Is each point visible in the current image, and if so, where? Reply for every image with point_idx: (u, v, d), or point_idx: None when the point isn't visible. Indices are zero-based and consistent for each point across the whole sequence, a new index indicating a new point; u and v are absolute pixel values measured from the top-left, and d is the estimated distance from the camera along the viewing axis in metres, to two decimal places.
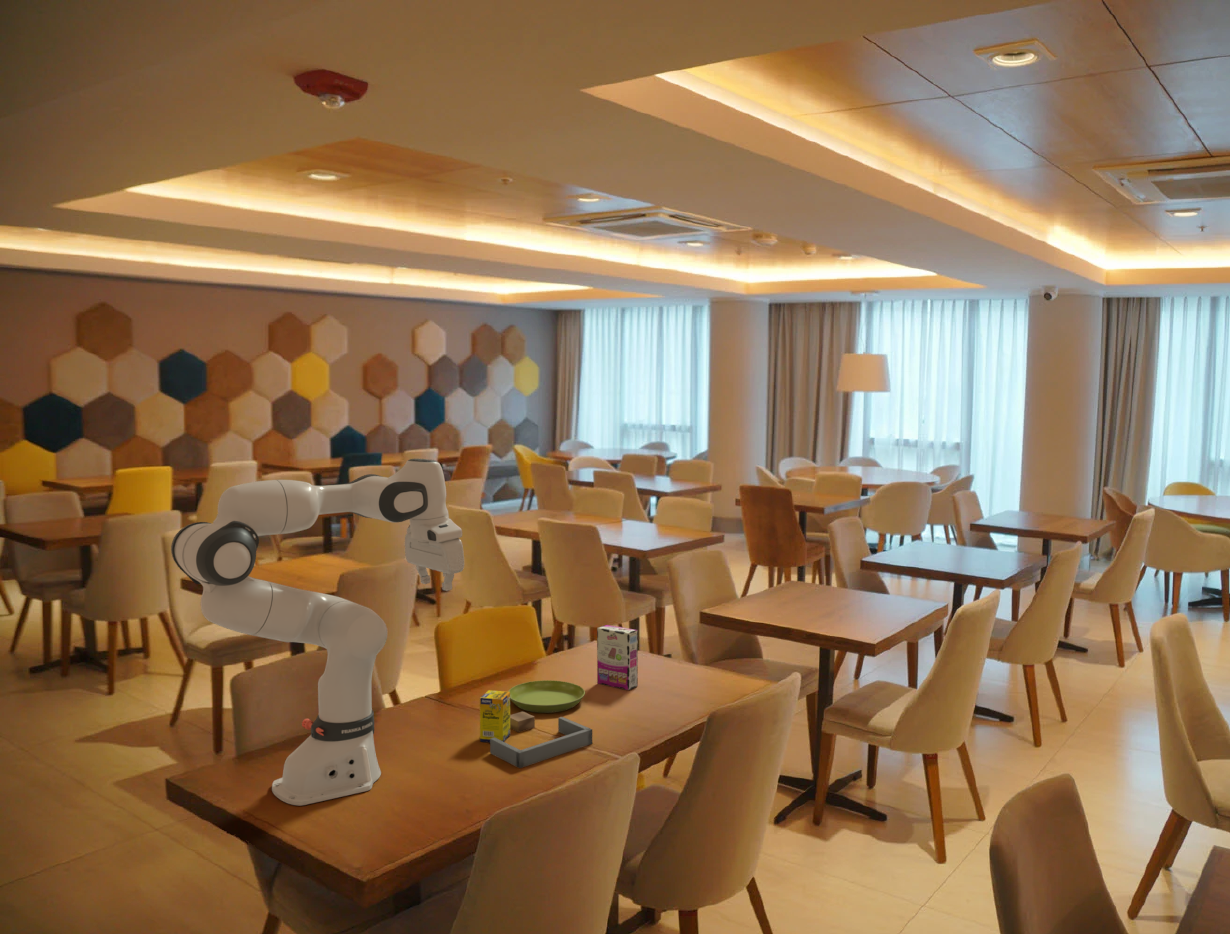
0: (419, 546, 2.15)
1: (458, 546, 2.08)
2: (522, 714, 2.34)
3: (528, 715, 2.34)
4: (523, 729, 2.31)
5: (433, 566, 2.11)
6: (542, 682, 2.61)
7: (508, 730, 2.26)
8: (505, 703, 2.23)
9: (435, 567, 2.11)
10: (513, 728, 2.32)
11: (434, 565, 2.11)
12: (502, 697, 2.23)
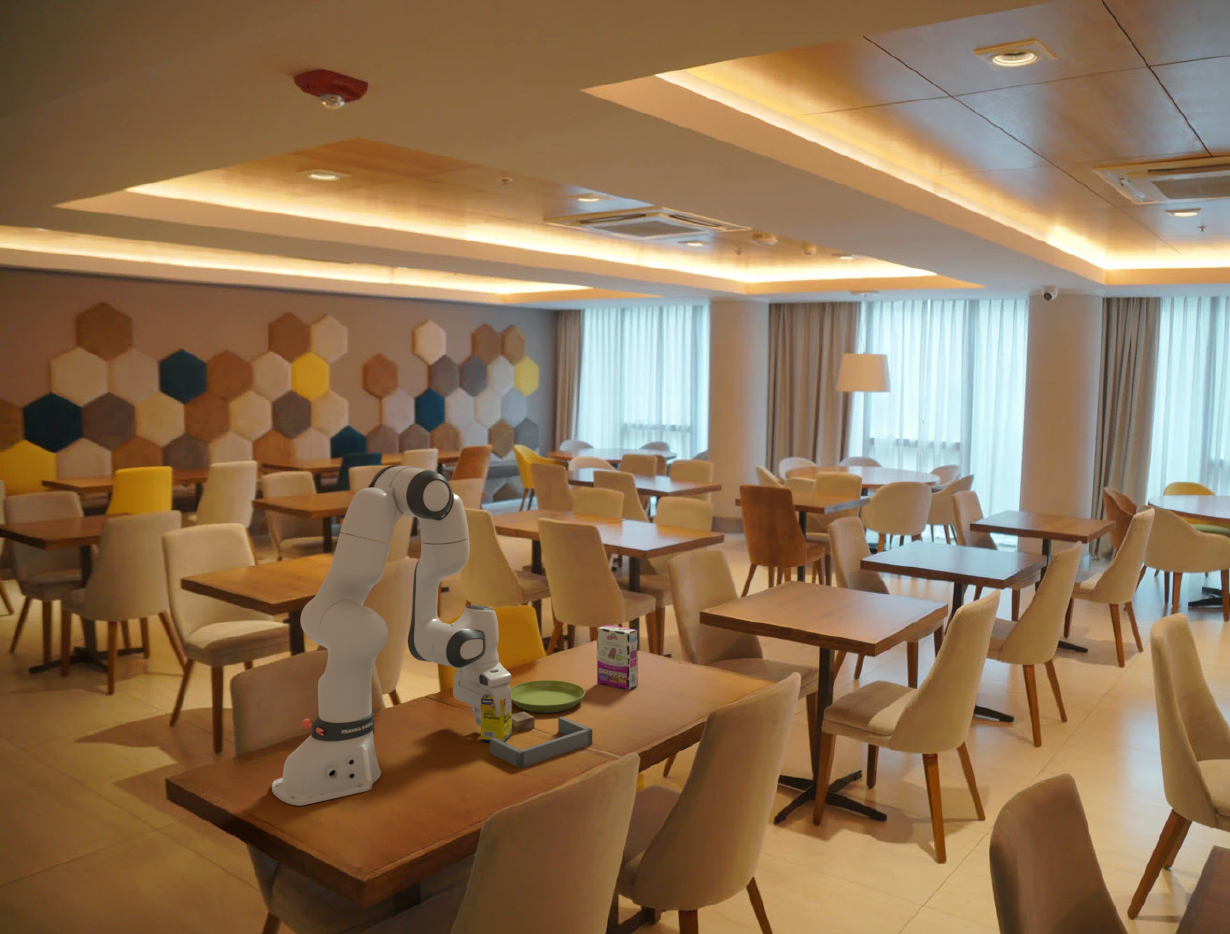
0: (468, 686, 2.31)
1: (507, 691, 2.23)
2: (523, 714, 2.34)
3: (528, 715, 2.34)
4: (522, 729, 2.31)
5: None
6: (542, 682, 2.61)
7: (509, 730, 2.26)
8: None
9: None
10: (512, 728, 2.32)
11: None
12: None
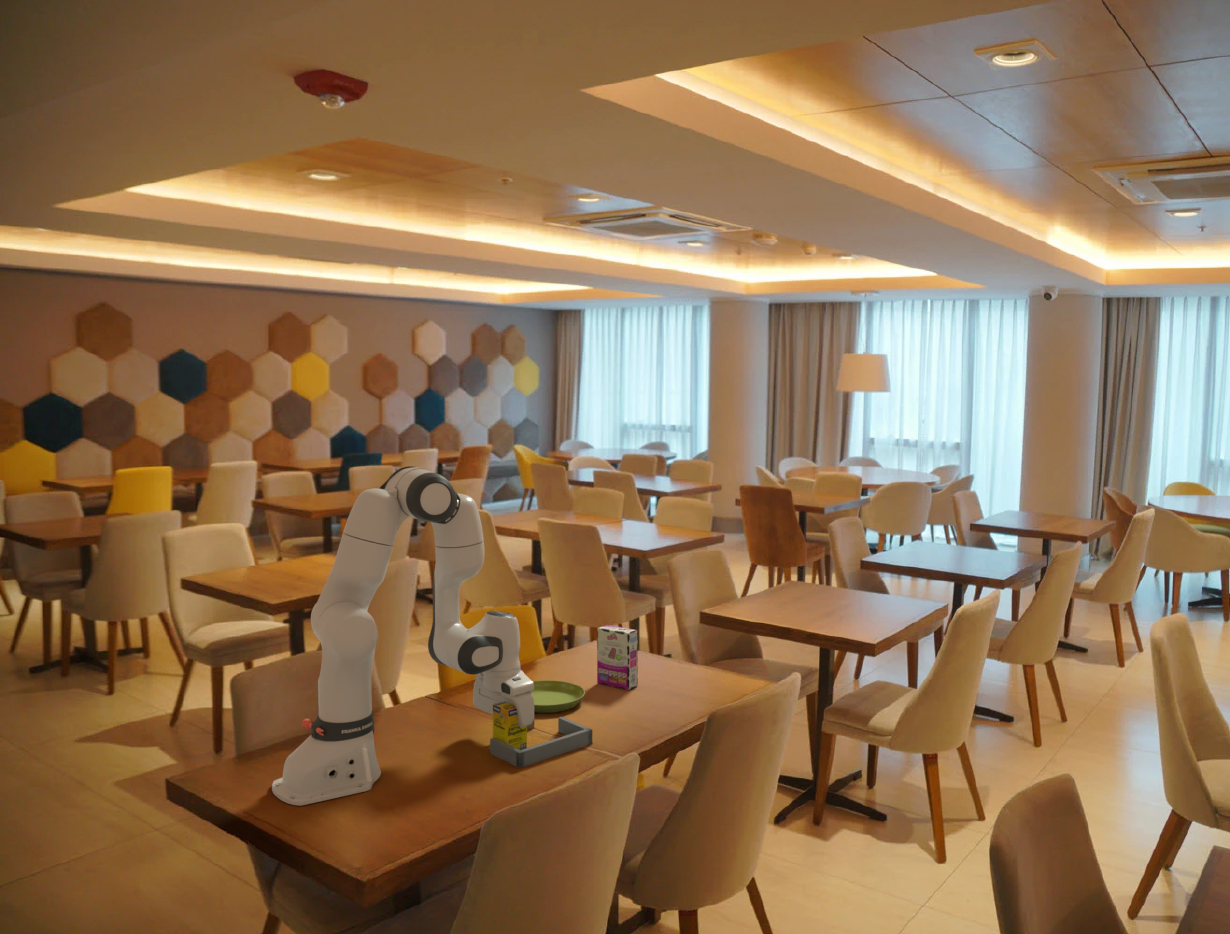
0: (489, 694, 2.24)
1: (530, 700, 2.17)
2: None
3: None
4: None
5: None
6: (542, 682, 2.61)
7: (520, 743, 2.17)
8: (513, 715, 2.15)
9: None
10: None
11: None
12: (511, 708, 2.15)
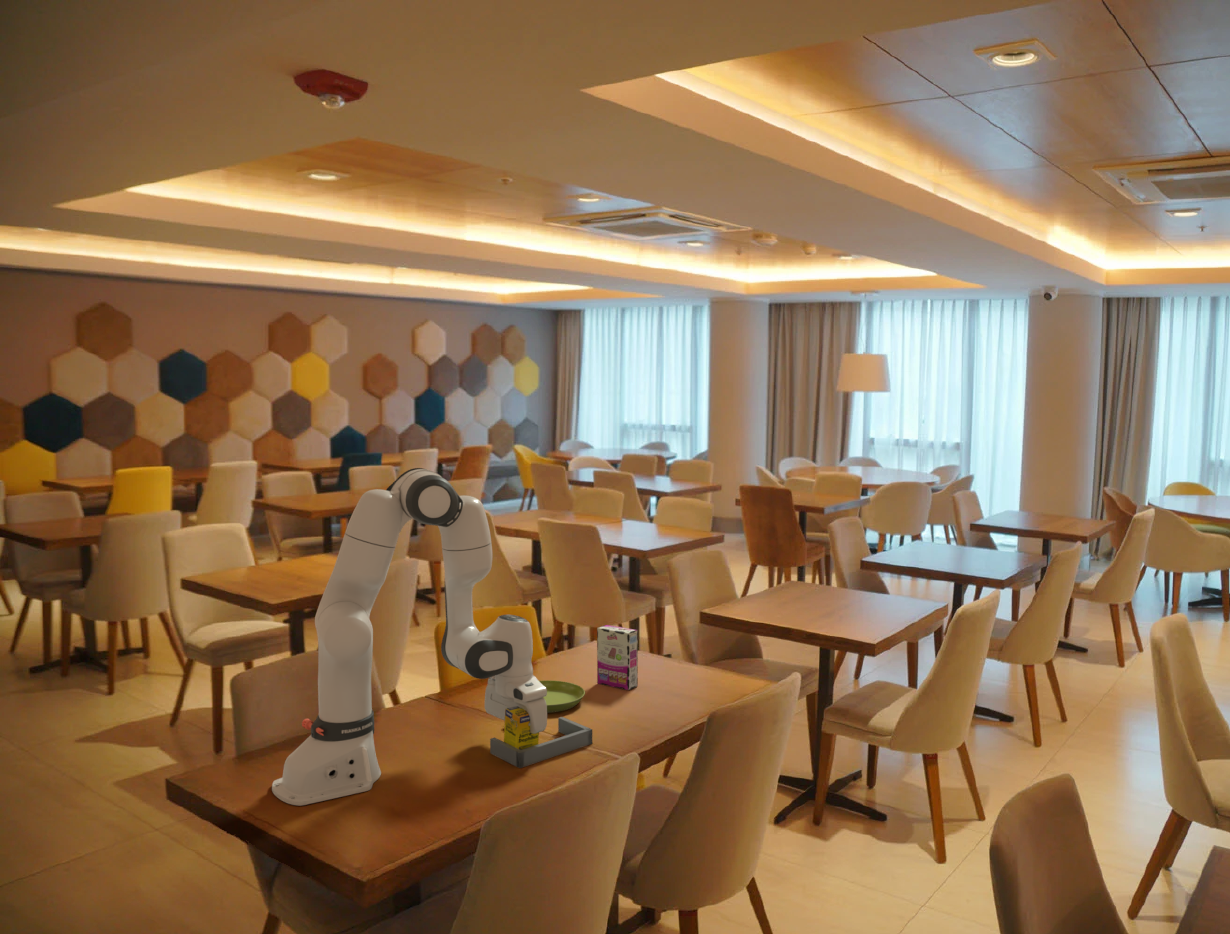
0: (501, 699, 2.21)
1: (543, 706, 2.13)
2: None
3: None
4: None
5: None
6: (542, 682, 2.61)
7: None
8: (524, 722, 2.11)
9: None
10: None
11: None
12: (523, 715, 2.11)
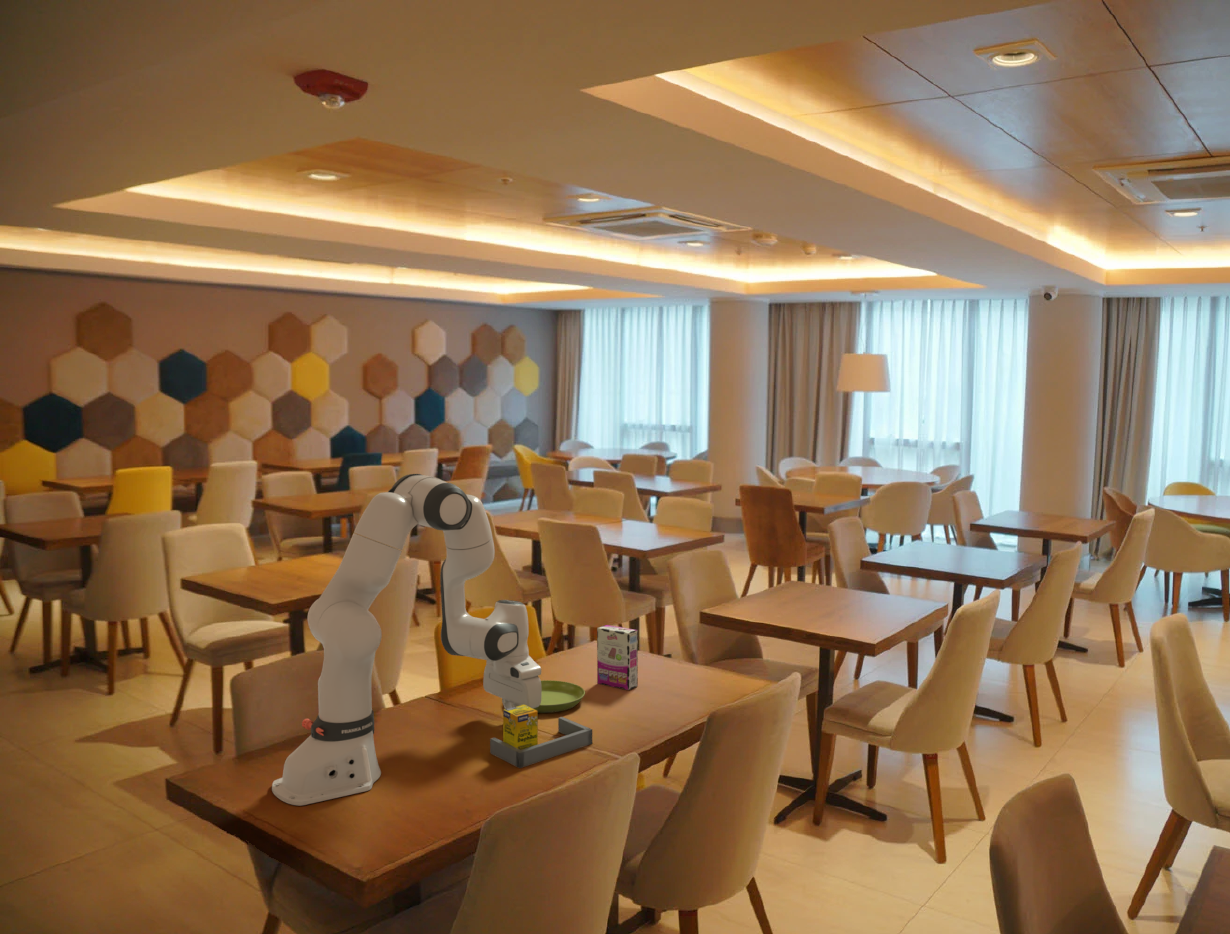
0: (499, 678, 2.37)
1: (538, 683, 2.29)
2: None
3: None
4: None
5: (511, 699, 2.33)
6: (542, 682, 2.61)
7: None
8: (522, 721, 2.12)
9: (513, 701, 2.32)
10: None
11: (513, 698, 2.32)
12: (520, 714, 2.12)
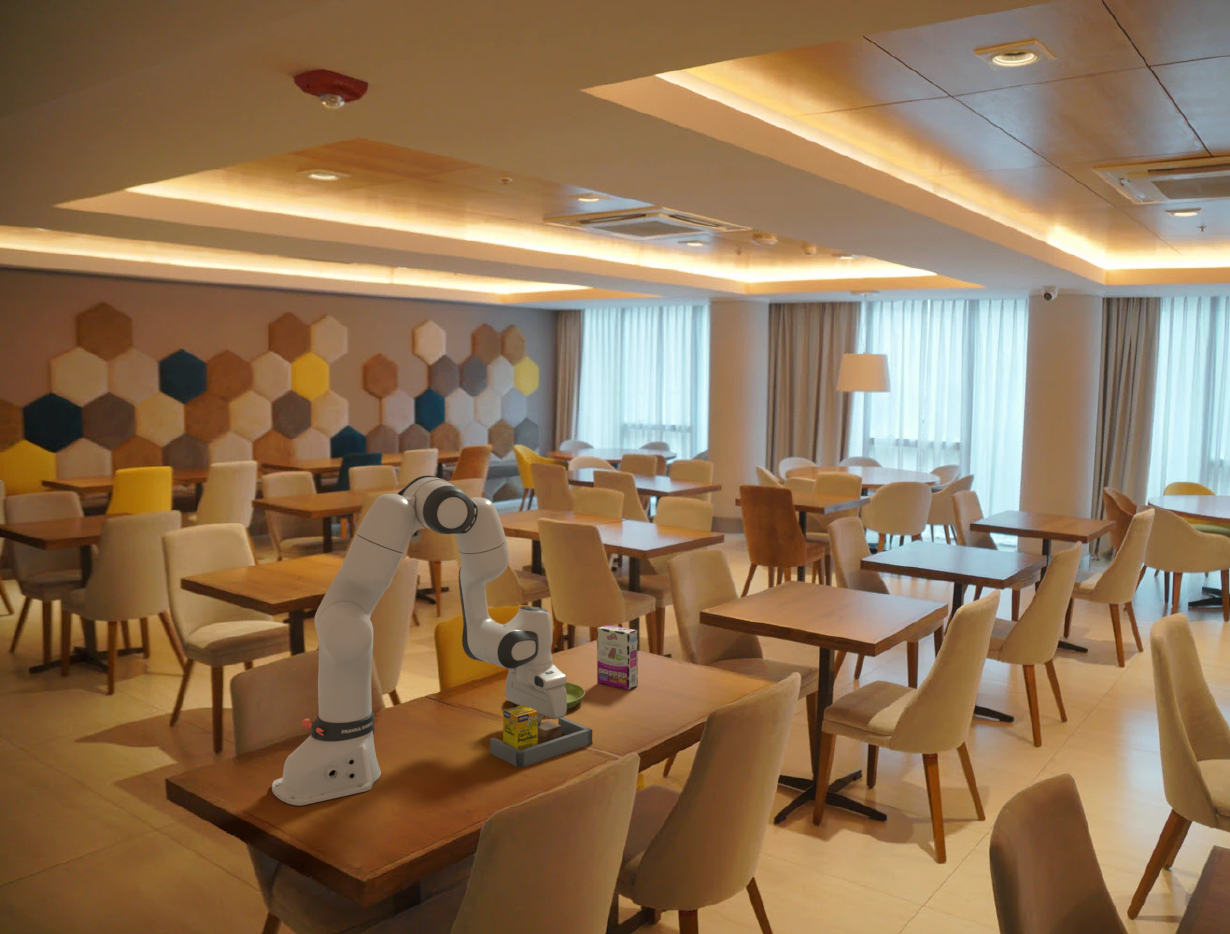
0: (522, 687, 2.30)
1: (563, 693, 2.22)
2: (548, 723, 2.28)
3: (554, 724, 2.27)
4: (550, 739, 2.24)
5: (535, 709, 2.25)
6: None
7: None
8: (522, 721, 2.11)
9: (537, 710, 2.25)
10: (539, 738, 2.25)
11: (537, 708, 2.25)
12: (520, 714, 2.12)
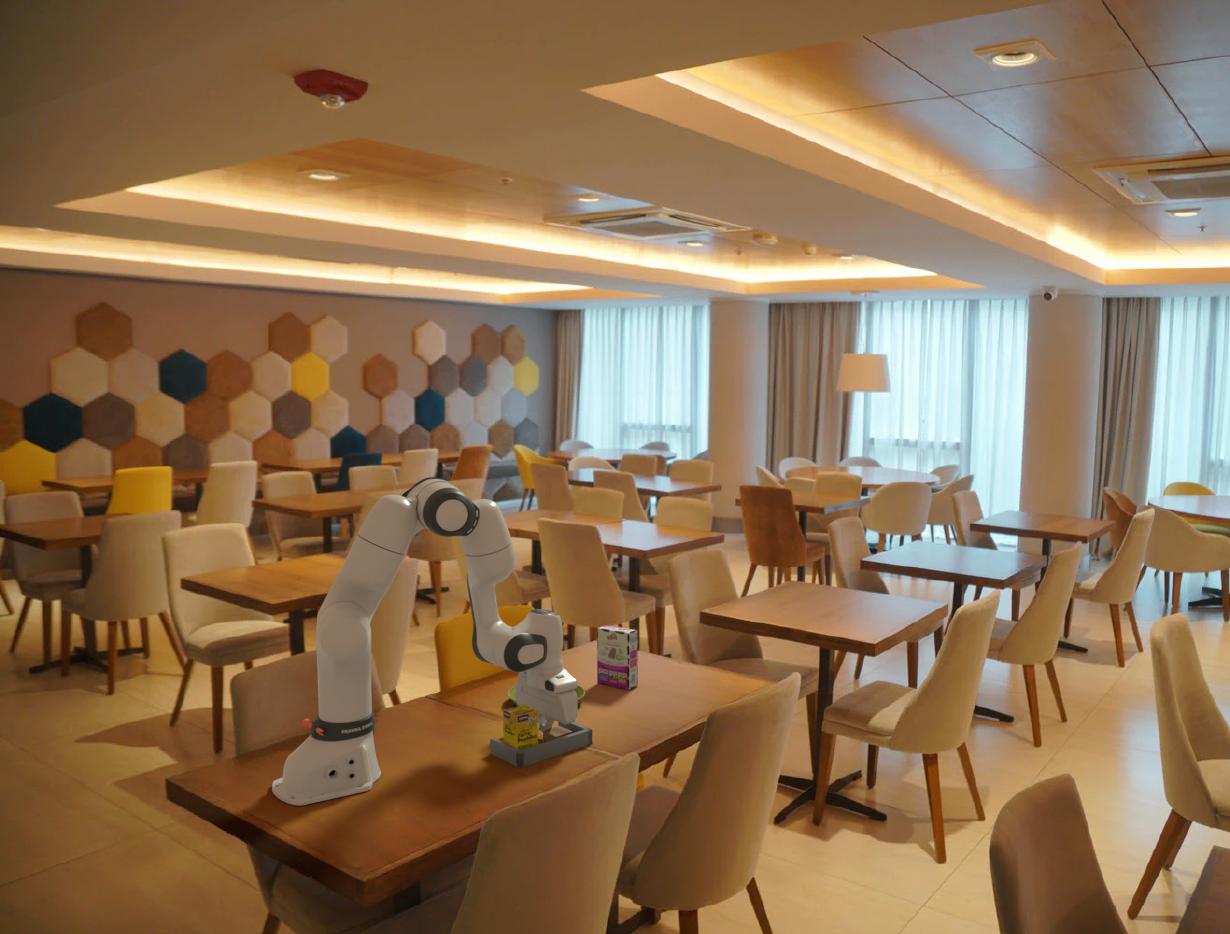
0: (532, 691, 2.27)
1: (574, 697, 2.19)
2: (559, 729, 2.25)
3: (565, 730, 2.24)
4: None
5: (546, 713, 2.22)
6: None
7: None
8: (522, 721, 2.12)
9: (547, 715, 2.22)
10: None
11: (547, 713, 2.22)
12: (520, 714, 2.12)
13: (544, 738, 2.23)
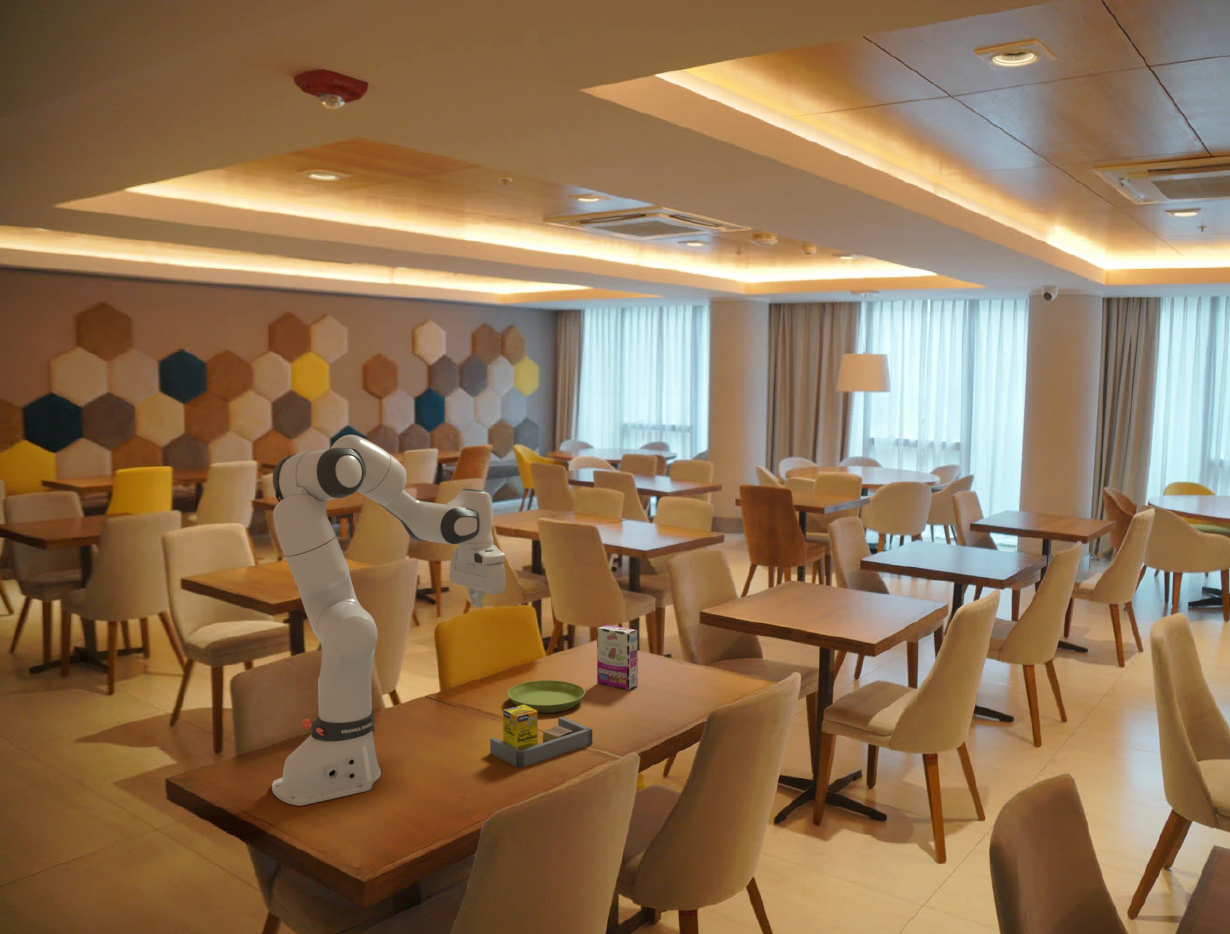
0: (464, 568, 2.38)
1: (501, 569, 2.31)
2: (559, 729, 2.25)
3: (565, 729, 2.24)
4: None
5: (476, 586, 2.34)
6: (542, 682, 2.61)
7: None
8: (522, 721, 2.11)
9: (477, 588, 2.34)
10: None
11: (477, 585, 2.34)
12: (520, 714, 2.12)
13: (544, 738, 2.23)
